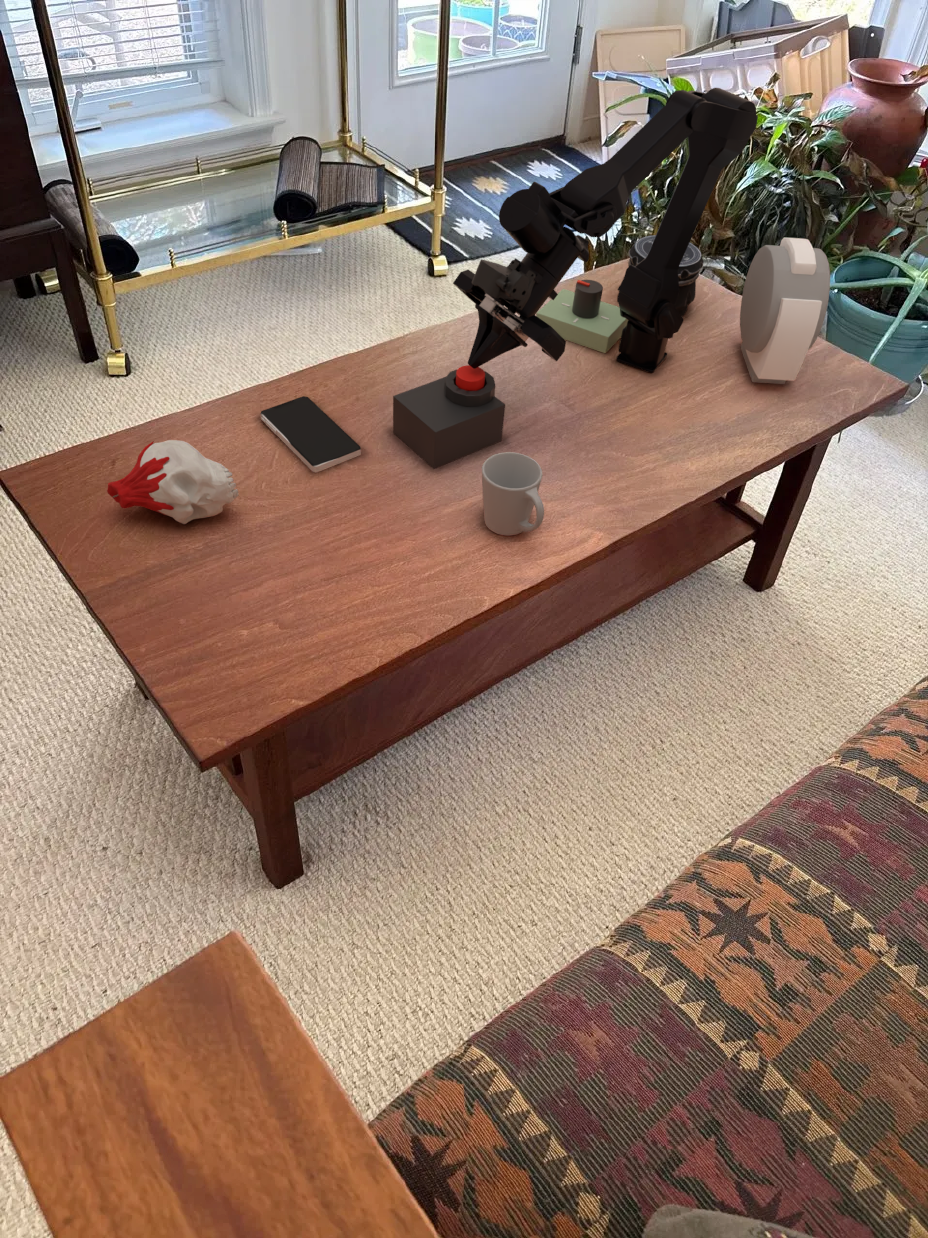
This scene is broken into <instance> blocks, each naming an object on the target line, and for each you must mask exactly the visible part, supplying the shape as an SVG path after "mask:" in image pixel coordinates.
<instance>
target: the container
mask: <svg viewBox="0 0 928 1238" xmlns="http://www.w3.org/2000/svg"><path fill="white" fill-rule="evenodd" d="M655 236H656V234H655V235H654V234H653V235H646V236H643V237H641V238H638V239H637V240H636V241H635V242H634V244H632V246H631V248H630V249H629V250H628V258H629V259H628V262H627V267H629V266H630V265H633V266H636V265H637V264H639V263H640V262H641V261H642V260H644V259H645V258H646V257H647V255H648V253H649V251H650V248H651V246H652V243H653V241H654V239H655ZM703 267H704V259H703V256H702V252H701V250H700V248H698V246H696V245H695V244H693V243H692V242H690V243H689V245H688V247H687V249H686V252H685V254H684V256H683V258H682V261H681V263H680V265H679V268H678V279H679V294H678V296H677V299H676V302H675V305H674V307H675V308H676V309H677V311H678V312H679V313H680V315H681V316H682V317H683V316H684V315H686V313H687V311H688V306H689V305H690V304H691V303H692V302H694V301H695V298H696V289H697V288H696V287H697V283H696V282H697V280H698V279H699V277H700V272H701V270H702V268H703Z"/></svg>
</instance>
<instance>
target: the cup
mask: <svg viewBox="0 0 928 1238" xmlns="http://www.w3.org/2000/svg"><path fill="white" fill-rule="evenodd" d="M542 479H543V469H542V467H541V465H540V464H539V462H537V460H535V459H534V458H532V457H531V456H529V455H527V454H523V453H520V452H514V451H505V452H499V453H495V454H492V455H490V456H489V457H488V458H487V459H485V461H484V462H483V464H482V466H481V489H482V490H481V491H482V504H483V505H482V506H483V518H484V524H485V526H486V527H487V529H489V530H490V531H492V533H495V534H497V535H502V536H510V537H511V536H515V535H518V534H521V533H523V532H524V533H529V532H530V533H531V532H534V531H535V530H537V529H539V528H540V526H541V525H542V524H543V522H544V517H545V507H544V506H545V505H544V502H543V500H542V498H541V496H540V495H539V490H540V486H541V483H542ZM534 508H535V515H536V517H535V522H534V523H530V522H529V521H530V520H531V519H530V518H531V515H532V513H533V509H534Z"/></svg>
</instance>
